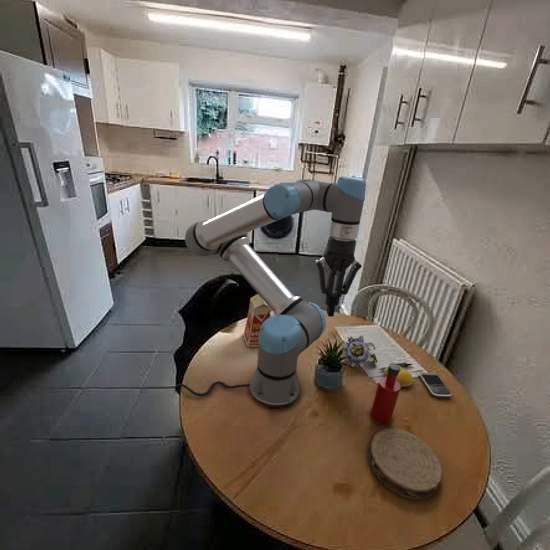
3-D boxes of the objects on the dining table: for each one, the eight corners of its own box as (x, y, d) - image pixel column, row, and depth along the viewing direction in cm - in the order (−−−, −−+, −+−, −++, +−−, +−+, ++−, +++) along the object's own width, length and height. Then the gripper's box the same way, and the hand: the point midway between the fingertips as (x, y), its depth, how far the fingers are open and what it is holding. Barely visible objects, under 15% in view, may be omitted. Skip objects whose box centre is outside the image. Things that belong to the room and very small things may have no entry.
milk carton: (243, 334, 121) (245, 288, 114) (265, 332, 124) (269, 287, 116) (248, 348, 113) (251, 300, 106) (272, 345, 116) (276, 298, 109)
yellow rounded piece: (404, 392, 99) (407, 382, 97) (379, 376, 105) (382, 366, 103) (416, 381, 104) (419, 371, 102) (392, 367, 110) (394, 357, 108)
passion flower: (350, 378, 111) (334, 353, 107) (355, 356, 119) (340, 333, 116) (380, 373, 104) (364, 347, 101) (383, 351, 113) (368, 326, 110)
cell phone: (432, 398, 97) (433, 394, 96) (417, 374, 107) (418, 371, 107) (451, 399, 97) (453, 395, 97) (434, 375, 107) (435, 372, 107)
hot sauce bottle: (374, 424, 86) (388, 373, 79) (367, 408, 91) (380, 359, 84) (394, 424, 86) (409, 374, 79) (386, 409, 91) (400, 360, 85)
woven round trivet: (411, 433, 84) (414, 424, 83) (454, 492, 70) (458, 483, 69) (357, 440, 81) (360, 432, 79) (391, 505, 66) (394, 496, 65)
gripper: (321, 240, 79) (310, 320, 88) (371, 242, 80) (355, 321, 89) (316, 232, 86) (306, 307, 95) (361, 235, 87) (347, 309, 96)
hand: (329, 314), depth 92 cm, fingers closed
